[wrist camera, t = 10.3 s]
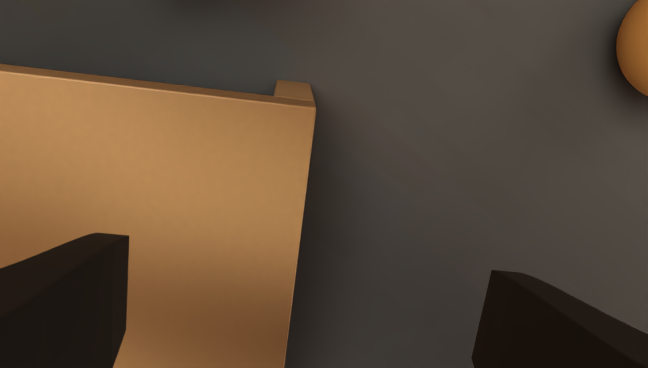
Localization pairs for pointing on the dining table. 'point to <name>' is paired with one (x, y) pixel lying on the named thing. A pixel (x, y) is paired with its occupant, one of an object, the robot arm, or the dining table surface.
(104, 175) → the shelf
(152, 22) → the dining table surface
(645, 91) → the figurine
